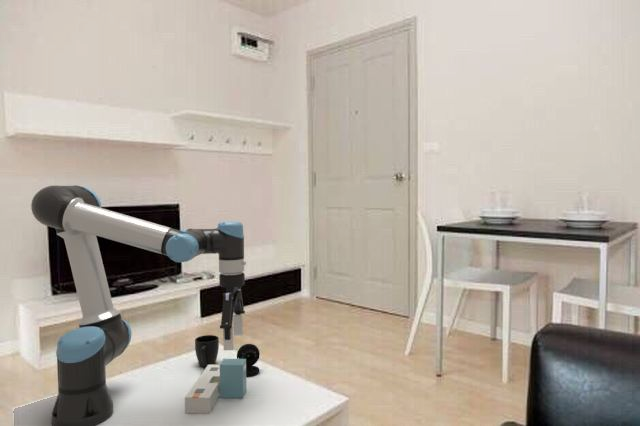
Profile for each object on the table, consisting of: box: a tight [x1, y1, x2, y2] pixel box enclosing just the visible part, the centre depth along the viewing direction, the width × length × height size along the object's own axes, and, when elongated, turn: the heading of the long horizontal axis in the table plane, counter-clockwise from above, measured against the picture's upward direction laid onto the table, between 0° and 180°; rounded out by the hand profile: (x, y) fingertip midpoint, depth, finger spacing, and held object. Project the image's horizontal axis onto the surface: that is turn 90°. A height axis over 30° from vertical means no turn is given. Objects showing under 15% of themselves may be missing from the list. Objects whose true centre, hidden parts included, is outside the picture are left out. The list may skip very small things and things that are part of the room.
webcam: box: [236, 343, 260, 378], centre depth 154 cm, size 8×8×10 cm
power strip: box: [184, 364, 220, 414], centre depth 142 cm, size 7×32×5 cm, turn 178°
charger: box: [212, 358, 247, 399], centre depth 138 cm, size 10×5×10 cm, turn 88°
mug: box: [194, 334, 220, 369], centre depth 160 cm, size 8×12×10 cm
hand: (233, 342), depth 137 cm, fingers open, 13 cm apart
